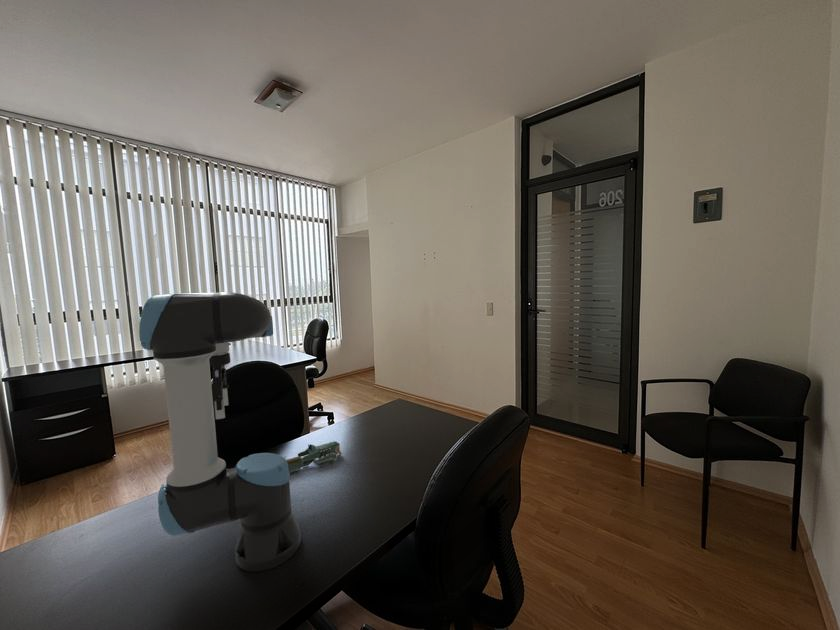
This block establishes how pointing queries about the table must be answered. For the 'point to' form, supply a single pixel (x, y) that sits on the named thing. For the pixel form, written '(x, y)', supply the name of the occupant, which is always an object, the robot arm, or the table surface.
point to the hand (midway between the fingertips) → (222, 411)
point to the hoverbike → (314, 456)
